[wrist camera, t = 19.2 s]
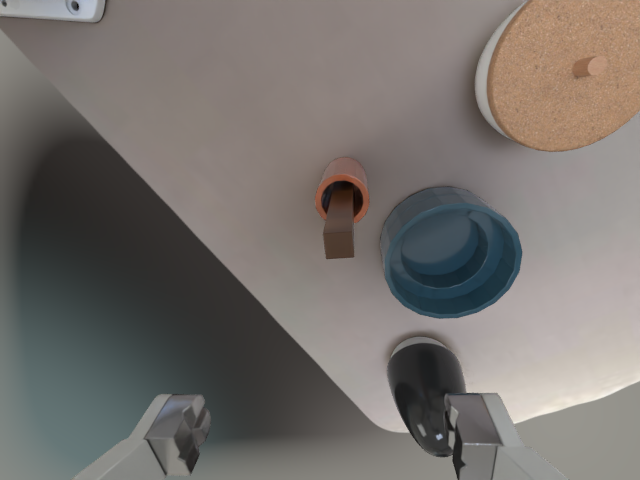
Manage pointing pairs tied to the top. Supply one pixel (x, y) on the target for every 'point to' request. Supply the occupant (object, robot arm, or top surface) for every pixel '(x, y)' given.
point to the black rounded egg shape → (424, 389)
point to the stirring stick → (340, 222)
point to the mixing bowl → (448, 253)
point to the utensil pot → (339, 172)
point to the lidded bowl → (562, 72)
